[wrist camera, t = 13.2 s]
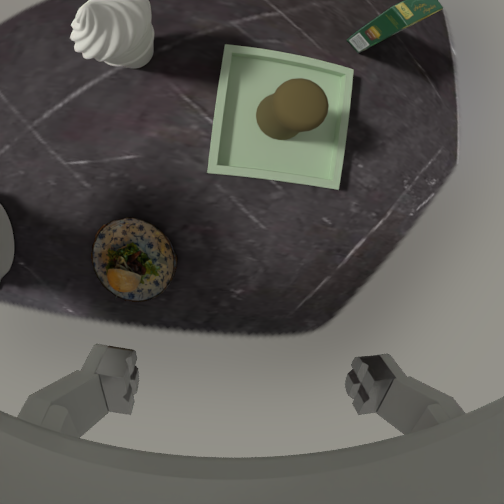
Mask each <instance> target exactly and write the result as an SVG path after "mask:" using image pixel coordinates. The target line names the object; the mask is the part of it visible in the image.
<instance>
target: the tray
mask: <svg viewBox="0 0 504 504" xmlns="http://www.w3.org/2000/svg"><path fill="white" fill-rule="evenodd" d="M297 78H303V79H308V80H311V81H313V82H314V83H316V84H318V85H319V86H320V87H321V88H322V89H323V90H324V92H325V94H326V96H327V99H328V104H329V107H328V114H327V116H326V118H325V120H324V121H323V123H322V124H320V125H319V126H318V127H317V128H315V129H313V130H311V131H305V132H299V133H298V134H297V135H296V136H294V137H292V138H290V139H287V140H277V139H272V138H271V137H269V136H267V135H265V134H264V133H263V132H262V131H261V129H260V128H259V126H258V124H257V120H256V111H257V107H258V106H259V104H260V102H261V101H262V100H263V99H264V98H265V97H267V96H269V95H271V94H274V93H275V91H276V89H277V88H278V87H279V86H280V85H281V84H282V83H284V82H285V81H288V80H290V79H297ZM352 82H353V69H350V68H347V67H343V66H340V65H336V64H332V63H329V62H325V61H321V60H317V59H312V58H308V57H304V56H299V55H294V54H289V53H284V52H278V51H273V50H266V49H260V48H253V47H245V46H237V45H227V44H225V48H224V54H223V60H222V66H221V72H220V79H219V85H218V92H217V99H216V106H215V113H214V121H213V129H212V137H211V145H210V153H209V162H208V171H207V173H214V174H225V175H234V176H244V177H252V178H261V179H269V180H277V181H284V182H291V183H298V184H305V185H312V186H318V187H325V188H331V189H337V190H339V185H340V179H341V172H342V166H343V159H344V152H345V144H346V137H347V129H348V120H349V112H350V102H351V92H352Z"/></svg>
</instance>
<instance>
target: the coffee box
mask: <svg viewBox="0 0 504 504" xmlns="http://www.w3.org/2000/svg"><path fill="white" fill-rule="evenodd" d="M441 9H443V7H442V6H441V4H440V3H439V2H438V0H405V1H402V2H400V3H398V4H396V5H394V6H392V7H391V8H389V9H388V10H386V11H385V12H384V13H382V14H381V15H379V16H378V17H376V18H375V19H373V20H372V21H371V22H369V23H368V24H366V25H365V26H364V27H362V28H361V29H359V30H358V31H357V32H355V33H354V34H353V35H352V36H351V37H349V38H348V39H347V41H348V42H349V43H350V44H351V46H352V47H353V48H354V49H355V50H356V51H357V53H361V52H363V51H365V50H366V49H368V48H370V47H372V46H374V45H376V44H378V43H379V42H381V41H383V40H385V39H387V38H389V37H390V36H392V35H394V34H396V33H398V32H400V31H402V30H404V29H405V28H408V27H409V26H411V25H413V24H415V23H417V22H419V21H421V20H423V19H425V18H427V17H429V16H430V15H432V14H434V13H436V12H438V11H440V10H441Z"/></svg>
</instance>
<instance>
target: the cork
mask: <svg viewBox="0 0 504 504" xmlns="http://www.w3.org/2000/svg"><path fill="white" fill-rule="evenodd" d="M328 107H329V104H328V99H327V96H326V94H325V92H324V90H323V89H322V88H321V87H320V86H319V85H318V84H316V83H314V82H313V81H311V80H308V79H303V78H297V79H290V80H288V81H285V82H284V83H282V84H281V85H280V86H279V87H278V88H277V89H276V91H275V93H274V94H271V95H269V96H267V97H265V98H264V99H263V100H262V101H261V102H260V104H259V106H258V107H257V111H256V120H257V124H258V126H259V128H260V129H261V131H262V132H263V133H264V134H265V135H267V136H269V137H271V138H272V139H277V140H287V139H290V138H292V137H294V136H296V135H297V134H298V133H299V132H305V131H311V130H313V129H315V128H317V127H318V126H319V125H320V124H322V123H323V121H324V120H325V118H326V116H327V114H328Z"/></svg>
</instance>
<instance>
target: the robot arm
mask: <svg viewBox="0 0 504 504" xmlns="http://www.w3.org/2000/svg"><path fill="white" fill-rule="evenodd" d="M13 258H14V236H13V231H12V227H11V223H10V220H9V218H8V216H7V213H6V211H5V210H4V208H3V206H2V205H1V204H0V281H1V278H2V277H3V276H4V275H5V274H6V273H7V272H8V271H9V269H10V267H11V265H12V262H13ZM136 360H137V356H136V351H135V350H132V349H125V348H119V347H113V346H107V345H100V344H95V345H94V346H93V348H92V350H91V352H90V354H89V356H88V357H87V359H86V361H85V363H84V365H83V367H82V369H81V371H79V370H77V371H75V372H73V373H71V374H69V375H67V376H65V377H63V378H62V379H60V380H58V381H56V382H54V383H52V384H50V385H48V386H47V387H45V388H43V389H41V390H39V391H37V392H35V393H33V394H31V395H29V397H28V399H27V401H26V402H25V404H24V406H23V408H22V409H21V411H20V413H19V415H18V417H14V416H12V415H9V414H7V413H4V412H2V411H0V504H504V397H502V398H500V399H498V400H496V401H494V402H492V403H489V404H487V405H485V406H483V407H481V408H478V409H476V410H474V411H471V412H469V413H467V414H466V413H465V412H464V411H463V410H462V408H461V407H460V406H459V405H458V403H457V402H456V401H455V400H454V399H453V397H451V396H448V395H446V394H445V393H442V392H440V391H438V390H436V389H434V388H432V387H430V386H428V385H426V384H424V383H422V382H420V381H418V380H416V379H414V378H412V377H407V376H406V375H405V373H404V372H403V371H402V369H401V368H400V367H399V366H398V364H397V363H396V362H395V360H394V359H393V358H392V357H391V355H389V354H381V355H374V356H362V357H355V358H354V360H353V362H352V364H351V366H352V368H353V369H352V370H351V371H350V372H349V373H348V374H347V377H346V381H345V387H346V391H347V394H348V396H350V397H351V398H353V399H354V401H353V403H352V404H353V406H354V407H355V409H356V411H357V413H358V415H361V414H368V413H375V412H377V414H378V415H379V416H381V417H382V418H383V419H385V420H386V421H387V422H389V423H390V424H391V425H392V426H394V427H395V428H397V429H398V430H399V431H400V432H402V433H403V434H404V435H402V436H398V437H394V438H390V439H386V440H382V441H378V442H374V443H369V444H364V445H359V446H354V447H349V448H344V449H338V450H331V451H324V452H317V453H309V454H299V455H288V456H275V457H254V458H253V457H251V458H216V457H196V456H182V455H171V454H162V453H154V452H146V451H140V450H133V449H127V448H122V447H116V446H111V445H107V444H102V443H97V442H93V441H89V440H85V439H81V438H80V437H81V436H82V435H83V434H84V433H85V432H87V431H88V430H89V429H90V428H91V427H92V426H94V425H95V424H96V423H97V422H98V421H99V420H101V419H102V418H103V417H104V416H105V415H106V414H108V411H110V412H116V413H123V414H130V415H131V413H132V409H133V405H134V396H133V395H134V394H136V393H137V389H138V382H139V372H138V368H137V367H136V366H135V364H136Z"/></svg>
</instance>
